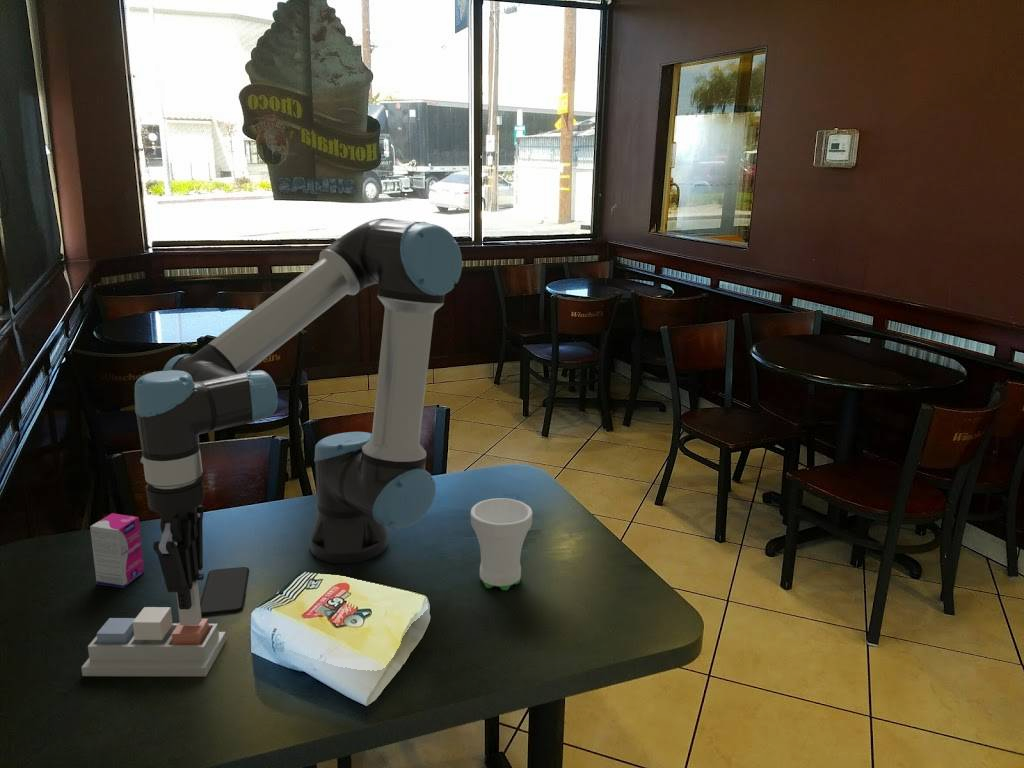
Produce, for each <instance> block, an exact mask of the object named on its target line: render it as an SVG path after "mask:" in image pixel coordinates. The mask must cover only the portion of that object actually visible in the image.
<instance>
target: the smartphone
mask: <svg viewBox="0 0 1024 768" xmlns="http://www.w3.org/2000/svg"><path fill="white" fill-rule="evenodd" d="M249 576H250V568H249V567H245V566H242V567H231V568H229V567H227V568H219V569H212V570H209V572H208V573H207V576H206V581H205V584H204V587H203V591H202V596H201V598H200V608H201V617H206V616H214V615H215V616H216V615H222V614H223V615H225V614H235V613H239V612H241V611H243V610H244V606H245V602H246V595H247V589H248V580H249Z"/></svg>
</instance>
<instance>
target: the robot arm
mask: <svg viewBox="0 0 1024 768" xmlns="http://www.w3.org/2000/svg"><path fill="white" fill-rule="evenodd" d="M462 269H463V257H462V252H461V248H460V246H459V244H458V242H457V241H456V239H455V238H454V235H453V234H452V233H451V232H450V231H449V230H448V229H446V228H444V227H442V226H441V225H437V224H434V223H429V222H426V221H415V220H414V221H413V220H404V219H403V220H401V219H394V218H386V217H385V218H376V219H371V220H369V221H367V222H364V223H362V224H360V225H358V226H356V227H355V228H353V229H351V230H350V231H348V232H346V233H345V234H343V235H342V236H341V237H339V238H338V239H336V240H335V241H333V242H331V243H330V244H329V245H328V246H326V247H325V248H324V249H323V250H321V251H320V253H319V259H318V261H317V262H315V263H313V265H311V266H309V268H307V269H306V270H305V271H303V272H302V273H300V274H299V275H298V276H296V277H295V278H294V279H292V280H291V281H290V282H288V283H287V284H286V285H284V286H283V287H282V288H281V289H279V290H278V291H277V292H275V293H274V294H273V295H271V296H269V298H267V299H266V300H265V301H263V302H261V303H260V304H259V305H258V306H257V307H255V308H254V309H253V310H251V311H250V312H248V313H247V314H246V315H245V316H243V317H241V318H240V319H239V320H237V321H236V322H235V323H233V325H231V326H230V327H228V328H227V329H225V331H223V332H222V333H220V334H219V335H218V336H217V337H215V338H214V339H213V340H211V341H210V342H208V343H207V344H206V345H204V346H203V347H201V348H200V349H199V350H197V351H196V352H195V353H193V354H192V353H183V354H178V355H175V356H173V357H172V358H170V359H169V360H168V361H167V362H166V364H165V365H164V367H163V369H162V370H159V371H153V372H149V373H147V374H144V375H141V376H139V378H138V379H137V380H136V382H135V383H134V394H133V395H134V412H135V414H136V420H137V428H138V432H139V440H140V447H141V455H142V456H141V458H140V463H141V464H143V472H144V478H145V482H146V485H145V489H146V490H145V491H146V498H147V499H146V500H147V505H148V508H149V510H150V511H152V512H153V513H156V514H157V515H159V517H160V521H159V522H160V523H159V530H160V532H161V533H162V536H161V539H160V541H157V540H156V541H154V542H153V545H152V546H153V551H154V552H155V554H156V555H157V556H158V557H157V558H158V562H159V564H160V567H161V569H160V570H161V572H162V576H163V579H164V583H165V585H166V589H167V592H168V593H176V594H175V595H176V600H177V601H176V603H177V609H178V610H177V611H178V620H179V622H180V625H199V623H200V622H201V620H202V619H203V618H202V617H203V616H201V608H200V601H201V598H200V591H199V582H198V581H203V580H204V579H205V574H204V573H200V572H199V571H202V570H203V568H204V567H203V566H204V564H203V563H204V562H203V561H204V559H203V558H204V549H203V548H204V544H203V542H204V541H203V539H204V538H203V535H204V534H203V519H204V510H205V509H204V505H202V504H203V503H204V501H205V499H206V498H205V497H206V496H205V486H204V478H203V476H202V474H203V464H202V455H201V448H200V447H201V446H200V437H199V436H200V435H201V434H207V433H211V432H214V431H215V432H216V431H219V430H223V429H228V428H232V427H237V426H241V425H246V424H249V423H250V424H253V423H255V422H258V421H261V420H263V419H266V418H267V419H268V418H270V417H271V416H273V415H274V414H275V412H276V410H277V408H278V402H279V401H278V400H279V399H278V391H277V387H276V384H275V382H274V380H273V378H272V377H271V375H270V374H269V373H267V371H264V370H262V369H261V370H260V369H257V370H252V369H254V368H255V367H257V366H258V365H259V364H260V363H261V362H262V361H264V360H266V359H267V358H268V357H269V356H270V355H272V354H273V353H274V352H275V351H276V350H278V349H279V348H281V346H283V345H284V344H285V343H287V342H288V341H289V340H290V339H292V338H293V337H295V336H296V335H297V334H298V333H299V332H300V331H302V330H303V329H304V328H306V327H307V326H308V325H309V324H311V323H312V322H313V321H315V320H316V319H317V318H319V317H320V316H321V315H322V314H324V313H325V312H326V311H328V310H329V309H330V308H331V307H332V306H334V305H335V304H336V303H337V302H339V301H340V300H342V298H344V297H345V296H347V295H349V296H355V295H357V294H358V293H360V291H362V290H363V289H365V288H367V287H371V286H372V285H376V284H378V285H377V286H378V287H377V292H376V293H377V294H376V295H377V298H378V300H379V301H380V302H381V304H382V305H383V306H384V313H383V314H384V315H383V324H382V333H381V334H382V337H381V344H380V353H379V363H378V374H377V384H376V392H375V402H374V403H375V404H374V412H373V422H372V429H371V430H372V431H371V432H367V431H366V432H365V431H348V432H342V433H341V432H339V433H335V434H332V435H328V436H326V437H324V438H322V439H320V440H319V441H318V442H317V443H316V444H315V447H314V448H315V449H314V459H313V462H314V466H315V485H316V498H317V499H316V503H317V514H316V518H315V520H314V524H313V527H312V530H311V533H310V537H309V538H310V539H309V544H310V545H309V546H310V552H311V554H312V555H313V556H314V557H316V558H317V560H318V559H319V560H321V561H324V562H327V563H331V564H341V565H342V564H343V565H344V564H355V563H361V562H365V561H368V560H371V559H373V558H375V557H377V556H379V555H381V554H382V553H383V552H384V551H385V550H386V549H387V547H388V542H389V539H388V537H389V536H388V535H389V534H388V529H387V527H389V528H392V529H396V530H397V529H398V530H400V529H401V530H403V529H405V528H409V527H411V526H413V525H415V524H416V523H418V522H419V521H420V520H421V519H422V518H423V516H424V515H426V514H427V513H428V511H429V510H430V508H431V507H432V505H433V502H434V500H435V496H436V490H437V489H436V482H435V479H434V478H433V477H432V474H431V473H430V472H429V471H427V469H426V463H427V462H426V460H427V451H426V450H425V449H424V448H423V446H422V445H421V444H420V441H421V433H422V432H421V431H422V421H423V413H424V405H425V398H426V397H425V396H426V395H425V394H426V390H427V389H426V388H427V379H428V370H429V362H430V361H429V360H430V351H431V341H432V336H433V335H432V333H433V326H434V317H435V313H436V311H438V310H439V309H440V308H441V307H442V306H444V304H445V296H446V294H448V293H449V292H451V291H452V290H453V289H454V288H455V284H458V283H459V281H460V278H461V275H462V271H463V270H462ZM386 526H387V527H386Z"/></svg>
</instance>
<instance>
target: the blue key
mask: <svg viewBox="0 0 1024 768" xmlns="http://www.w3.org/2000/svg"><path fill="white" fill-rule="evenodd" d="M135 618H136V617H135ZM135 618H134V617H109V618H108V619H107V620H106V622H105V623H104V624H103V625H102V626H101V627H100V629H99V630H98V631H97V632H96V636H97V640H98V645H127V644H128V643H129V641H130V640H131V639H132V637H133V636H134V629H133V621H134V620H135Z"/></svg>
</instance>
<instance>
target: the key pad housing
mask: <svg viewBox="0 0 1024 768" xmlns="http://www.w3.org/2000/svg"><path fill="white" fill-rule="evenodd" d="M178 624H179V622H178V623H177V622H174V623H173V625H172V626H171V628H170V629H169V630H168V632H167V633H166V635H165V636H164V638H163V639H162V640H135V637H134V636H133V637H132V639H131V640H130V641H129V643H128V644H127V645H98V640H97V635H96V636H95V637H94V638H93V639H92V641H91V642H90V643H89V644H88V646H87V652H88V658H87V659H86V661H85V662H84V664H83V665H81V667H80V668H81V673H82V677H204V678H205V677H207V675H208V674H209V672H210V670H211V668H212V666H213V665H214V663H215V661H216V660H217V658H218V656H219V654H220V653H221V651H222V649H223V647H224V644H225V643H226V641H227V633H226V631H219V624H218V623H209V634H208V635H207V637H206V639H205V640H204V642H203V644H202V645H173V643H172V632H173V631H174V629H175V628H176V627H177V625H178Z"/></svg>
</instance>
